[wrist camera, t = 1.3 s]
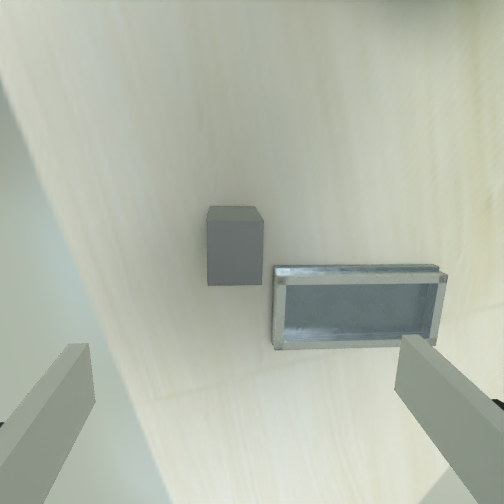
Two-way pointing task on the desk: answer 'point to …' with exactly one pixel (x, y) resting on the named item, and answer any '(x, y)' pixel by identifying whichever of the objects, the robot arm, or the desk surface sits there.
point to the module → (234, 246)
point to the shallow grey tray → (355, 305)
